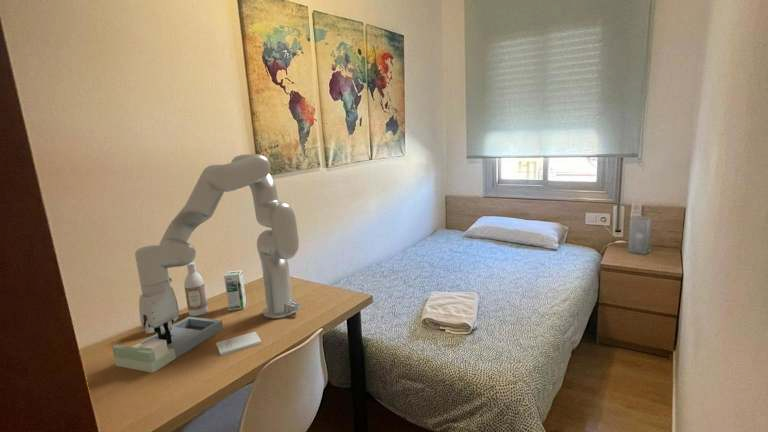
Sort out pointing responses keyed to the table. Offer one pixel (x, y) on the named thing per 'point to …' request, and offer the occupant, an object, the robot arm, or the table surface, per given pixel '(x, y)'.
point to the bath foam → (195, 292)
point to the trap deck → (182, 338)
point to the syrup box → (235, 290)
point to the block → (155, 346)
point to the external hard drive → (238, 343)
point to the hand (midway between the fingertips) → (166, 343)
